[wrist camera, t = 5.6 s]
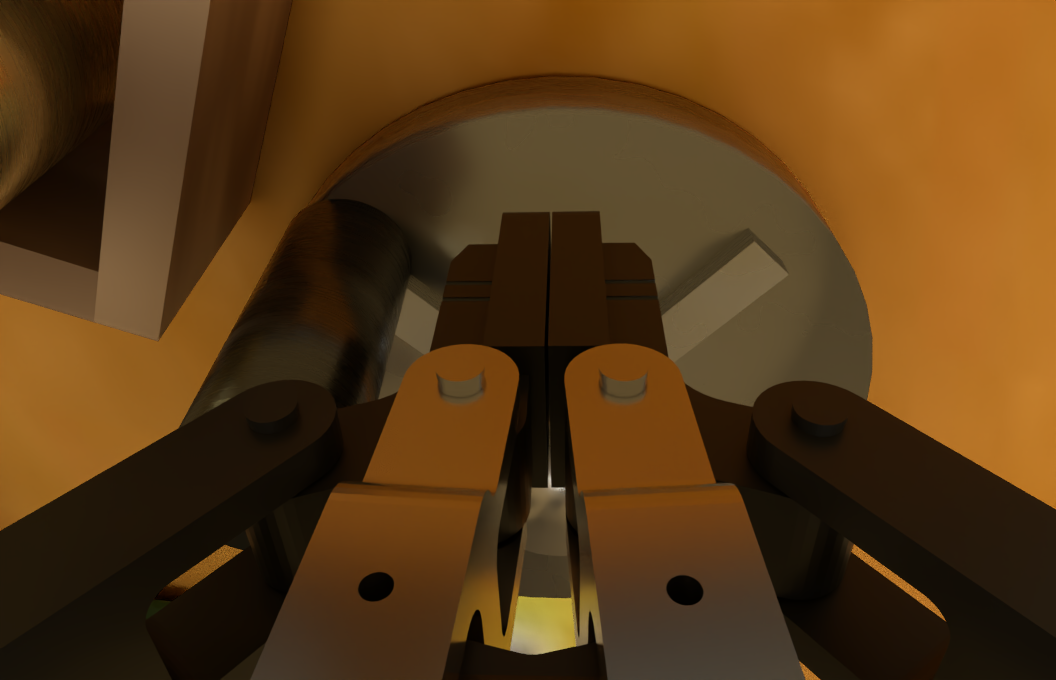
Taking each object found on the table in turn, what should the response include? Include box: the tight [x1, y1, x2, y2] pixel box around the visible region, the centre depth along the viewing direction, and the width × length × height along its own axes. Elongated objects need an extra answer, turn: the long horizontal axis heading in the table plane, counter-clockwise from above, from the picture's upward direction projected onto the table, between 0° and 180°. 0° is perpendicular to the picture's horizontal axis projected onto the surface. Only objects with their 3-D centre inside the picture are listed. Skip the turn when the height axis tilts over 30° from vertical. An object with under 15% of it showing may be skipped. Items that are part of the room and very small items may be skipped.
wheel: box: [178, 76, 872, 598], centre depth 16 cm, size 13×13×8 cm
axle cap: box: [525, 429, 567, 556], centre depth 16 cm, size 3×3×2 cm
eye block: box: [0, 0, 292, 341], centre depth 12 cm, size 7×7×5 cm
